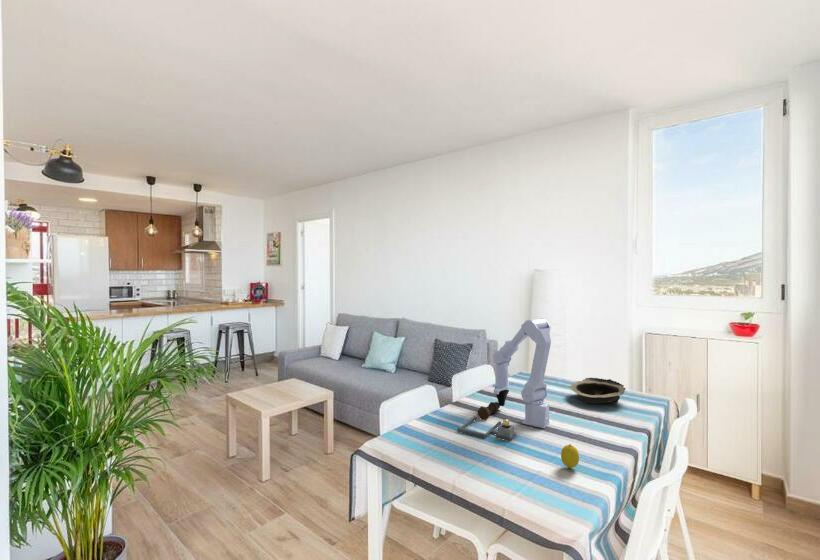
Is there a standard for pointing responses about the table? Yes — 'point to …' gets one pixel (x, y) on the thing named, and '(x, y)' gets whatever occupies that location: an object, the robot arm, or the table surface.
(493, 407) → the bolt
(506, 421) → the press pin
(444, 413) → the table surface
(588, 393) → the stone bowl
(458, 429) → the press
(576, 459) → the lemon
